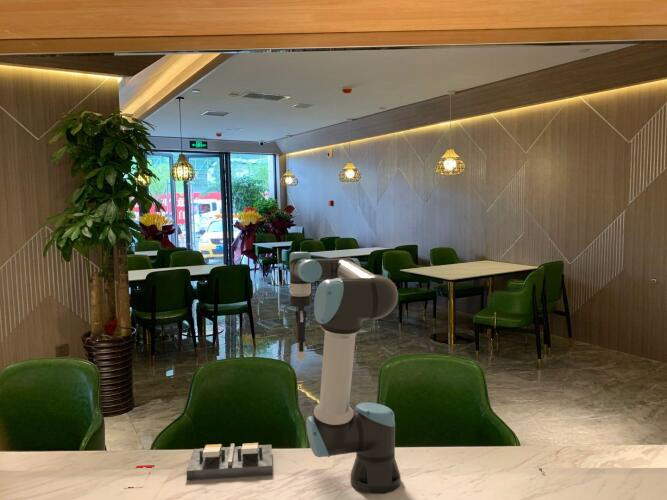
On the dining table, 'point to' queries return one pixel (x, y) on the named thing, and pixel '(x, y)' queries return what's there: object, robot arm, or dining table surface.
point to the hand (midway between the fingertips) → (301, 359)
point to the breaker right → (250, 448)
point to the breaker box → (230, 463)
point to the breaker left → (212, 450)
